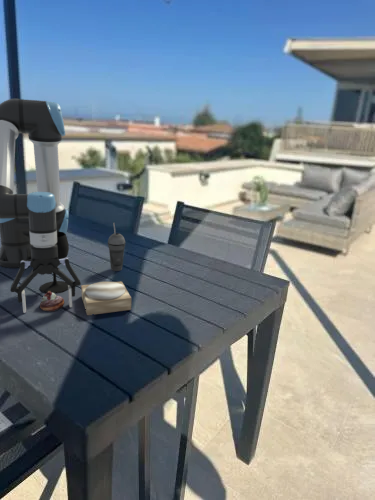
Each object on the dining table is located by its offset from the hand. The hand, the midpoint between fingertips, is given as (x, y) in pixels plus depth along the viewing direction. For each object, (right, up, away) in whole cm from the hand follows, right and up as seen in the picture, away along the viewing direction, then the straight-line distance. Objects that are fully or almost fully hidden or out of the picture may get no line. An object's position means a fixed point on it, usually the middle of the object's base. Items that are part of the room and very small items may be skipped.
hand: (48, 308), depth 112 cm
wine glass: (-3, +5, +15) cm, 16 cm away
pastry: (+1, 0, +2) cm, 2 cm away
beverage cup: (+15, +10, +36) cm, 40 cm away
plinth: (+17, +1, +6) cm, 18 cm away
